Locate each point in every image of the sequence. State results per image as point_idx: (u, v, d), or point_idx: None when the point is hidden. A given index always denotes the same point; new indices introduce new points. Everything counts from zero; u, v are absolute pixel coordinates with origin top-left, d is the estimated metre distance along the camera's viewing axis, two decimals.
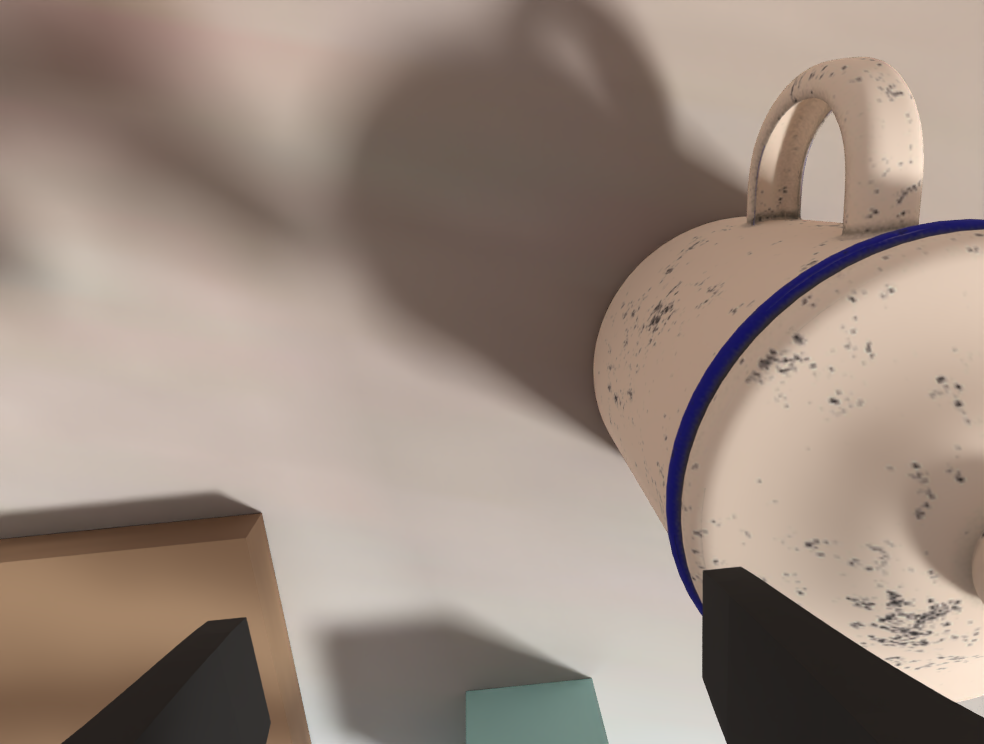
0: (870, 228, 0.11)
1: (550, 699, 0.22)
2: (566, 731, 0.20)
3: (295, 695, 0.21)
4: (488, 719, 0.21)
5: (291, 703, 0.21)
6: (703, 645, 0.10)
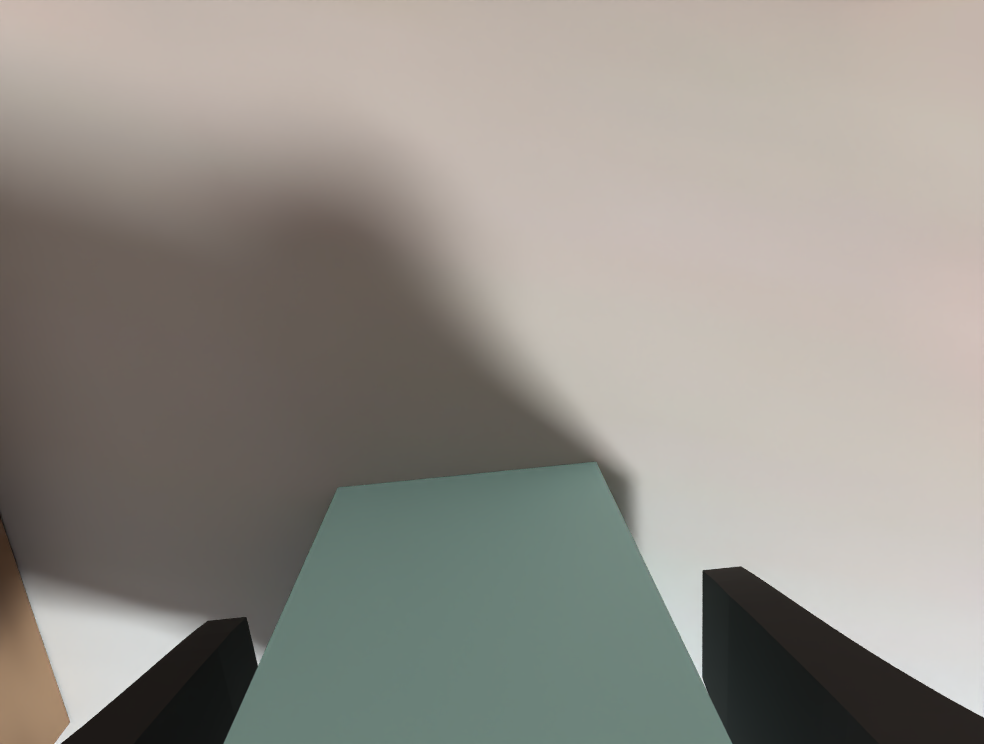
0: None
1: (508, 490, 0.10)
2: (540, 531, 0.09)
3: None
4: (370, 521, 0.10)
5: None
6: (703, 645, 0.10)
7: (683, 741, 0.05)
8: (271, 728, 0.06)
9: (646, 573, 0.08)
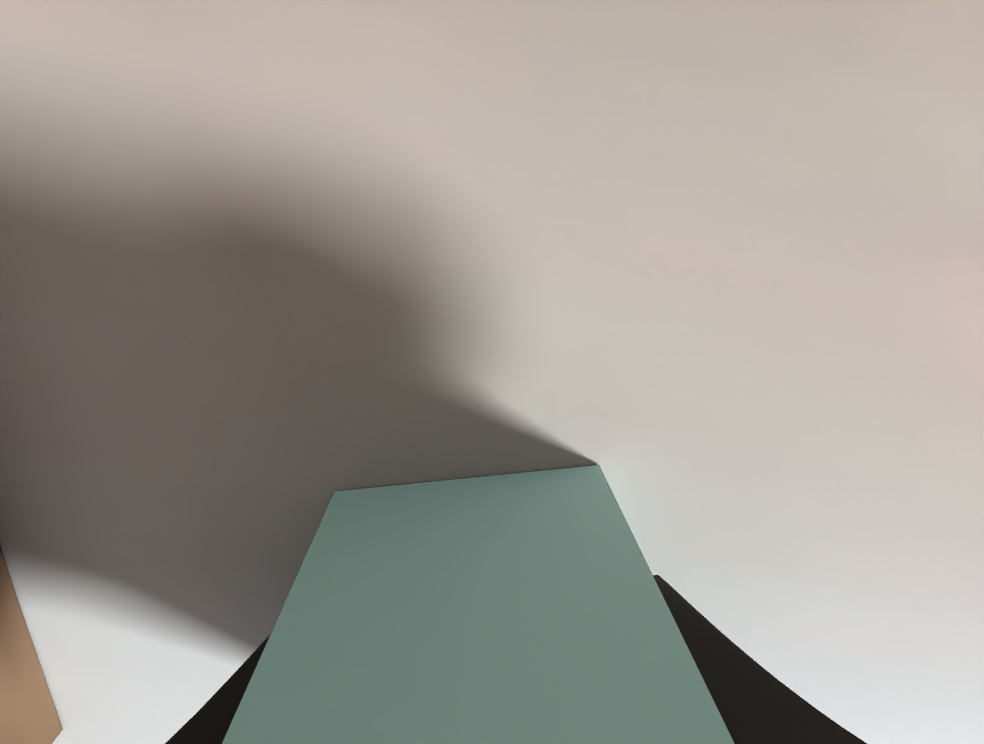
0: None
1: (509, 495, 0.10)
2: (541, 538, 0.09)
3: None
4: (366, 528, 0.09)
5: None
6: None
7: None
8: None
9: (653, 584, 0.07)
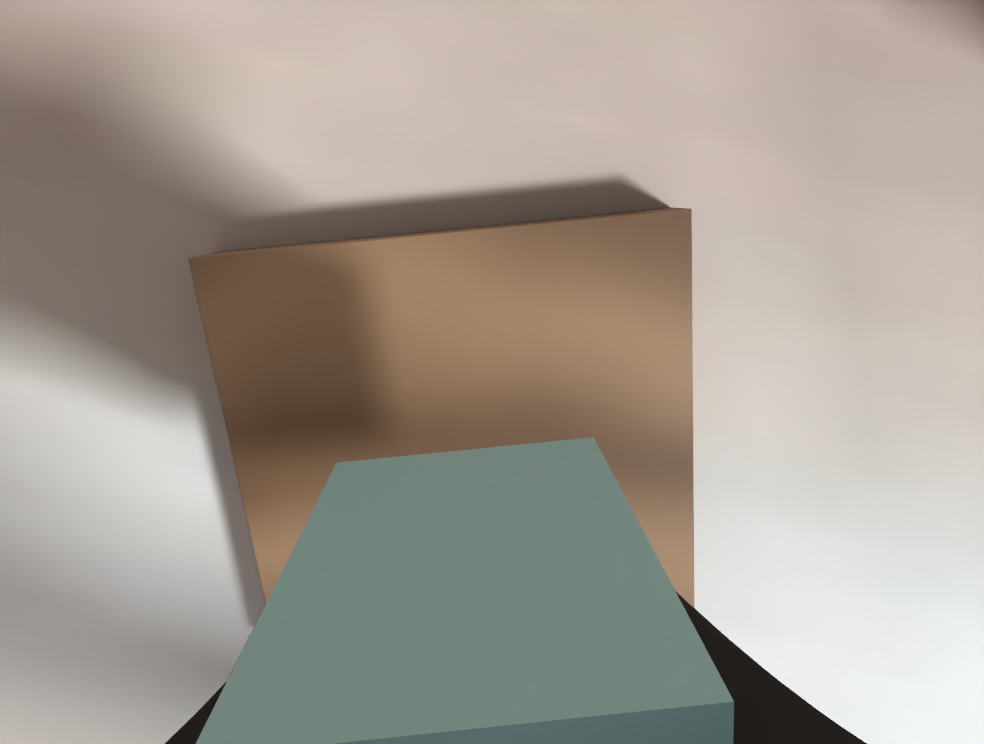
0: None
1: (506, 464, 0.10)
2: (537, 500, 0.09)
3: None
4: (367, 493, 0.10)
5: None
6: None
7: (679, 689, 0.05)
8: (267, 681, 0.06)
9: (643, 538, 0.08)
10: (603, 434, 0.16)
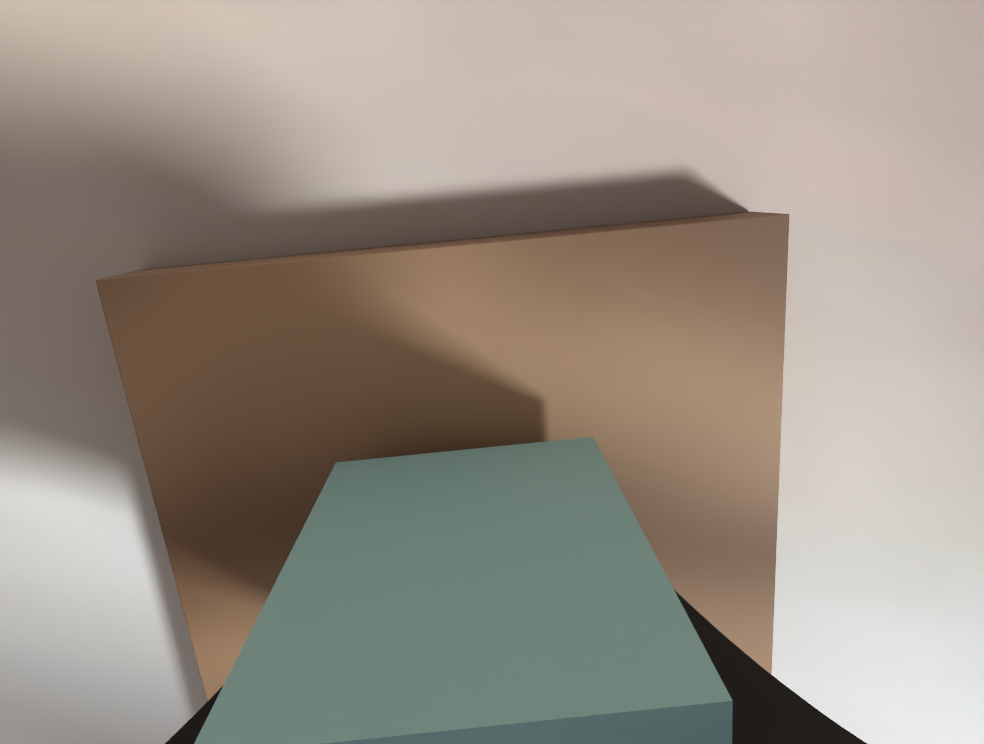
0: None
1: (505, 464, 0.10)
2: (536, 500, 0.09)
3: None
4: (367, 493, 0.10)
5: None
6: None
7: (678, 689, 0.05)
8: (266, 680, 0.06)
9: (642, 537, 0.08)
10: (659, 512, 0.12)
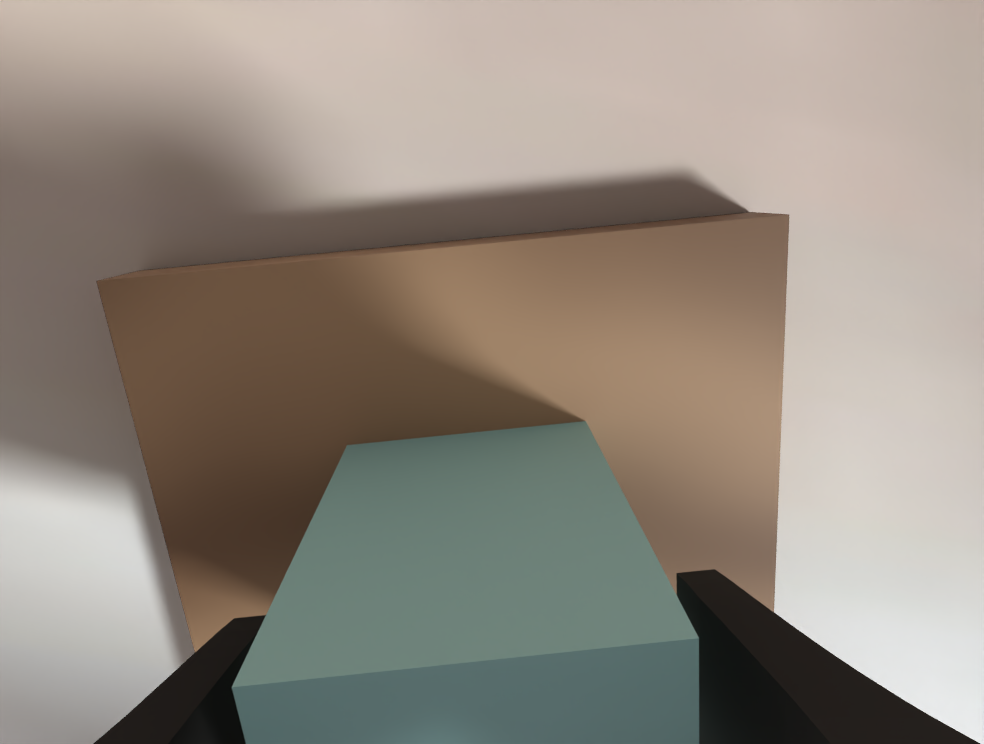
0: None
1: (504, 445, 0.11)
2: (532, 477, 0.10)
3: None
4: (377, 472, 0.10)
5: None
6: None
7: (653, 629, 0.06)
8: (296, 627, 0.07)
9: (627, 508, 0.09)
10: (659, 513, 0.12)
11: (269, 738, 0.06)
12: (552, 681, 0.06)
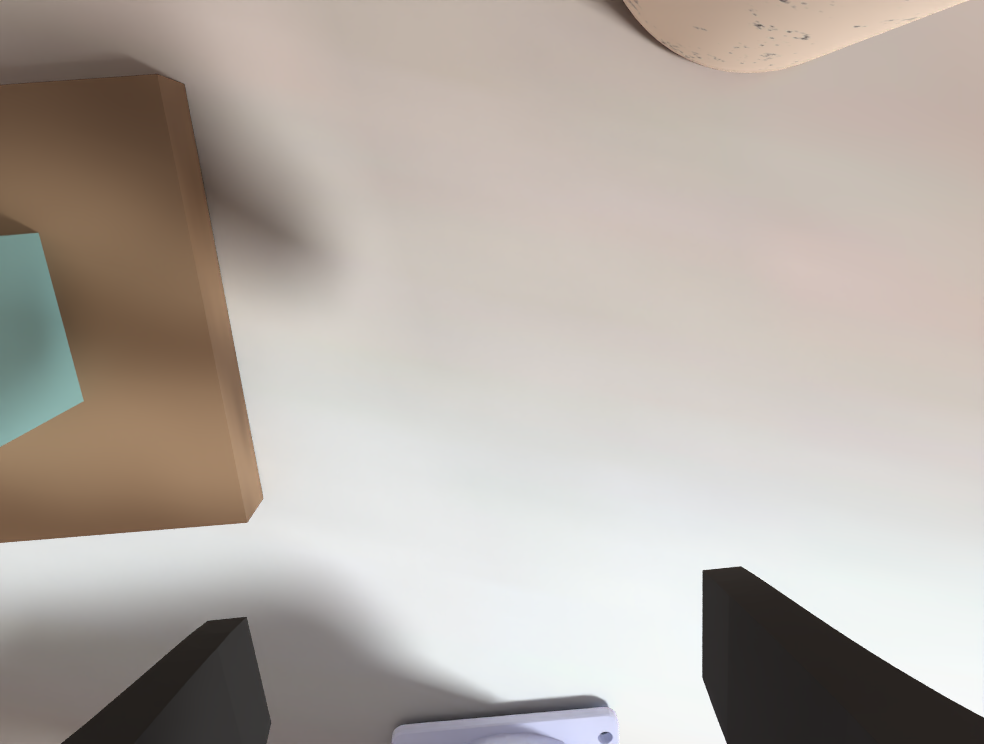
0: None
1: None
2: None
3: (225, 338, 0.18)
4: None
5: (220, 338, 0.17)
6: (703, 645, 0.10)
7: None
8: None
9: None
10: (112, 310, 0.16)
11: None
12: None
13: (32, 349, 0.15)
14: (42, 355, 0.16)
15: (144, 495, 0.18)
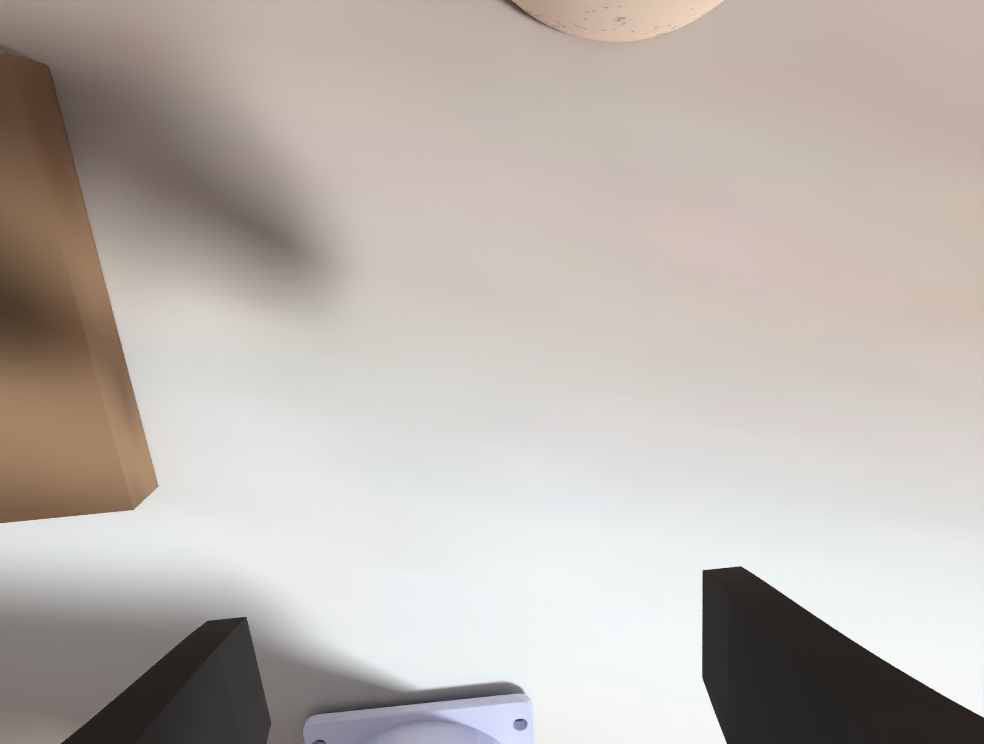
0: None
1: None
2: None
3: (105, 323, 0.18)
4: None
5: (96, 323, 0.17)
6: (703, 645, 0.10)
7: None
8: None
9: None
10: None
11: None
12: None
13: None
14: None
15: (26, 484, 0.18)
